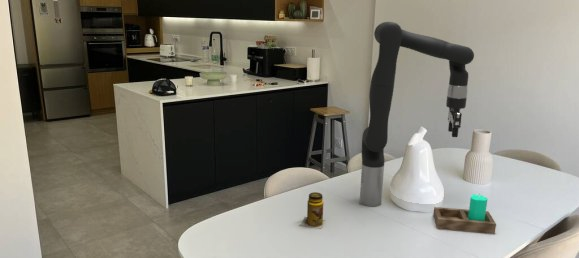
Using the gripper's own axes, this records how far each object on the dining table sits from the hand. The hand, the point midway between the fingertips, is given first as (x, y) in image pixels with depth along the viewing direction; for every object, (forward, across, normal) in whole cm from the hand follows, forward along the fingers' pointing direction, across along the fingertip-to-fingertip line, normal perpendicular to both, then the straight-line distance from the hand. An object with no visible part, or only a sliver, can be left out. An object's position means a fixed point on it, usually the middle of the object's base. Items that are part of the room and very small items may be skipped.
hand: (452, 134), depth 184 cm
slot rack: (+30, +22, +3) cm, 37 cm away
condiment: (+30, +32, -54) cm, 70 cm away
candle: (+29, +22, +8) cm, 37 cm away
